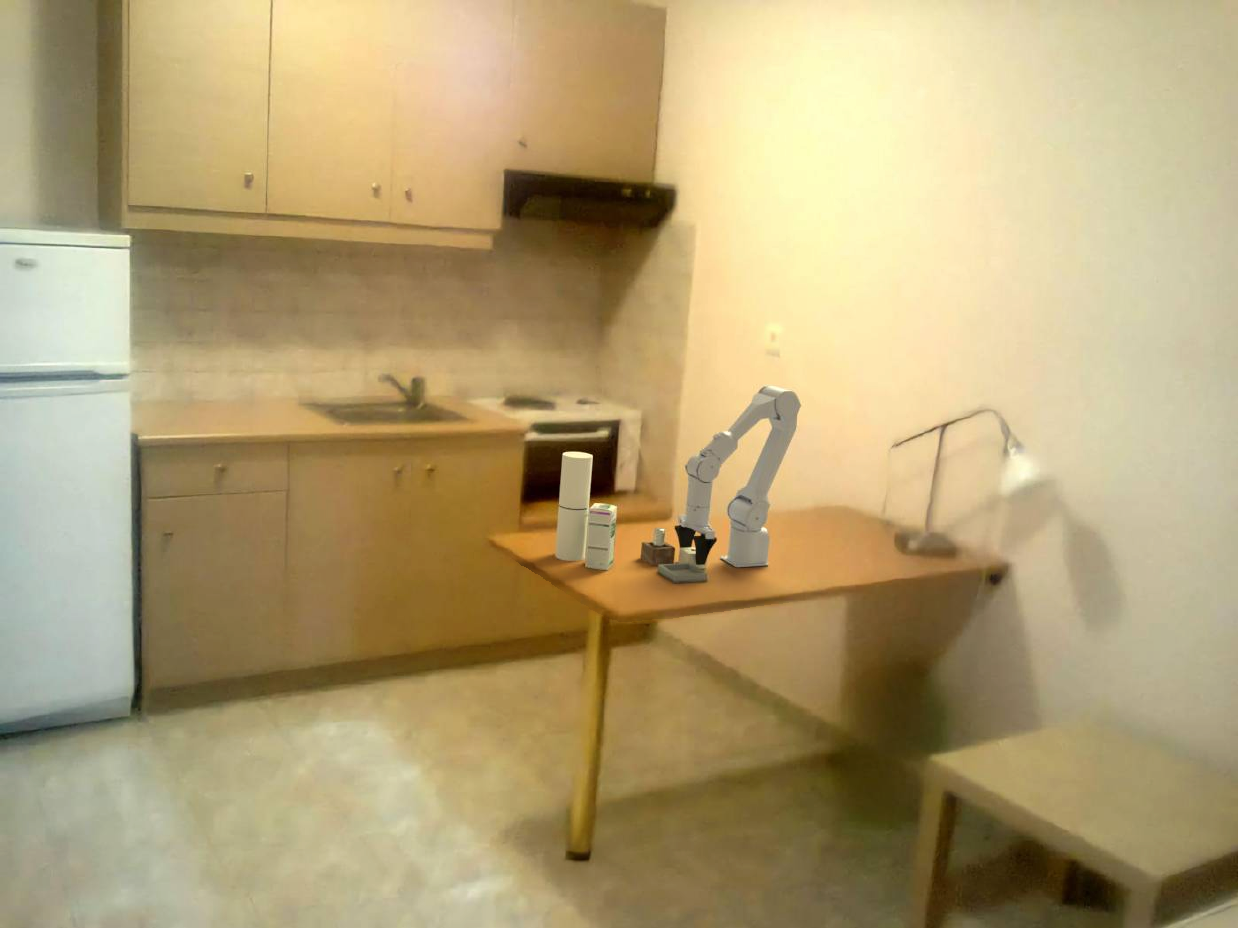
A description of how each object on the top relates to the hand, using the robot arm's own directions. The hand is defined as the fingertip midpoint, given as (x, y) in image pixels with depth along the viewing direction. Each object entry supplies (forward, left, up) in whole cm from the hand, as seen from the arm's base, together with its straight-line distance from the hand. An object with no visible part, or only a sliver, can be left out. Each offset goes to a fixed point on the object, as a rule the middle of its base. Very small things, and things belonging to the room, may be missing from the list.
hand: (692, 559), depth 258 cm
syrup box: (+23, -4, -2) cm, 23 cm away
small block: (0, 0, -2) cm, 2 cm away
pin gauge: (+7, -5, -2) cm, 9 cm away
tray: (+7, +7, -2) cm, 10 cm away
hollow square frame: (+7, -5, -2) cm, 9 cm away
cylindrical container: (+27, -12, -2) cm, 30 cm away
